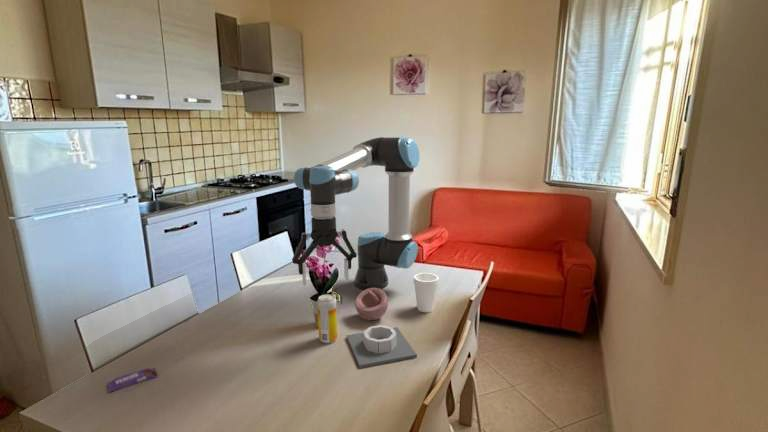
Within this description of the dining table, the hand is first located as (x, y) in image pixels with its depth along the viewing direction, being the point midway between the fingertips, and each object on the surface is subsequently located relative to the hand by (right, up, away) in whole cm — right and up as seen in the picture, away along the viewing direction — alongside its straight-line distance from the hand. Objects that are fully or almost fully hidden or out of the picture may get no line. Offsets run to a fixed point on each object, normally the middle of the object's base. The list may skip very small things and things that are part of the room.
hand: (325, 281), depth 129 cm
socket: (+17, -21, 0) cm, 28 cm away
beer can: (0, -20, +5) cm, 21 cm away
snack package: (-52, -26, -16) cm, 60 cm away
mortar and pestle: (+14, -17, +19) cm, 30 cm away
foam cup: (+35, -15, +27) cm, 47 cm away
